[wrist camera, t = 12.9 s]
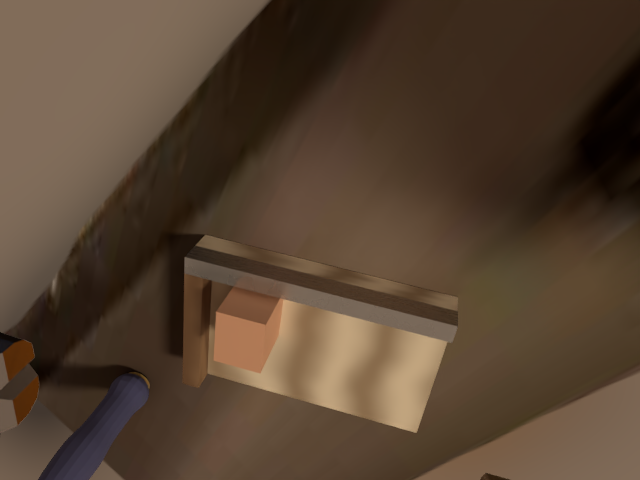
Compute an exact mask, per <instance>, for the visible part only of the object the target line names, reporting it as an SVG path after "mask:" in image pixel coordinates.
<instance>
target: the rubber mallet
mask: <svg viewBox="0 0 640 480" xmlns="http://www.w3.org/2000/svg"><path fill="white" fill-rule="evenodd" d="M149 388H150V384H149V382H148V380H147V378H146V377H144V376H143V375H142V374H140V373H137V372H129V373H127V374H123V375H120V376H119V377H118V378H116V379H115V380H114V381H113V383H112V384H111V386H110V388H109V390H108V393H107V394H106V396H105V398H104V399H103V400H102V402H101V403H100V404H99V405H98V407H97V408H96V409H95V410H94V412H93V413H92V414H91V415H90V417H89V418H88V419H87V420H86V421H85V422H84V424H83V425H82V426H81V427H80V428H79V429H77V430H76V431H75V432H74V433H73V434H72V435H71V436H70V437H69V438H68V439H67V440H66V441H65V443H64V444H63V445H62V446H61V447H60V449H59V450H58V451H57V453H56V454H55V455H54V457H53V458H52V459H51V461H50V462H49V464H48V465H47V467H46V468H45V470H44V471H43V472H42V474H41V476H40V477H39V479H38V480H89V479H90V477H91V476H92V475H93V473H94V472H95V471H96V469H97V468H98V467H99V465H100V464H101V462H102V461H103V459H104V457H105V455H106V453H107V451H108V450H109V448H110V446H111V444H112V443H113V441H114V439H115V438H116V437H117V435H118V434H119V433H120V431H121V430H122V428H123V427H124V426H125V424H126V423H127V422H128V420H129V419H130V417H131V416H132V415H133V414H134V413H135V412H136V411H137V410H139V409H140V408H141V407H142V406H143V405H144V404H145V403H146V401H147V399H148V396H149Z"/></svg>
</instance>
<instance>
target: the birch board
mask: <svg viewBox="0 0 640 480" xmlns="http://www.w3.org/2000/svg"><path fill="white" fill-rule="evenodd" d="M196 246H200V247H204V248H208V249H212V250H216V251H220V252H224V253H228V254H232V255H236V256H240V257H244V258H247V259H251V260H255V261H259V262H263V263H267V264H271V265H275V266H279V267H283V268H287V269H291V270H295V271H299V272H303V273H307V274H311V275H315V276H319V277H323V278H327V279H331V280H335V281H339V282H343V283H347V284H351V285H355V286H359V287H363V288H367V289H371V290H375V291H379V292H383V293H387V294H391V295H395V296H399V297H403V298H407V299H411V300H415V301H419V302H423V303H427V304H431V305H435V306H439V307H443V308H447V309H451V310H455V311H458V297H455V296H451V295H447V294H443V293H439V292H435V291H431V290H427V289H423V288H418V287H414V286H410V285H406V284H402V283H398V282H394V281H390V280H386V279H382V278H378V277H374V276H370V275H366V274H362V273H358V272H354V271H350V270H346V269H342V268H338V267H334V266H330V265H326V264H321V263H317V262H313V261H309V260H305V259H301V258H297V257H293V256H289V255H285V254H281V253H277V252H273V251H269V250H265V249H261V248H257V247H253V246H249V245H245V244H241V243H237V242H233V241H229V240H225V239H220V238H216V237H212V236H208V235H205V236H204V237H203V238H202V239H201V240H200V241H199V242H198V243H197V244H196ZM233 287H234V286H231V285H227V284H223V283H219V282H215V281H212V280H208V279H204V278H200V277H196V276H192V275H188V274H185V273H184V328H183V383H184V384H187V385H190V386H194V387H197V388H199V386H200V385H201V383H202V381H203V380H204V378H205V377H206V375H207V373H208V374H211V375H215V376H218V377H222V378H225V379H229V380H233V381H236V382H240V383H243V384H247V385H250V386H254V387H257V388H261V389H264V390H268V391H271V392H275V393H278V394H282V395H285V396H289V397H292V398H296V399H299V400H303V401H306V402H310V403H313V404H317V405H320V406H324V407H327V408H331V409H334V410H338V411H341V412H345V413H348V414H352V415H355V416H359V417H362V418H366V419H370V420H373V421H377V422H380V423H384V424H387V425H391V426H394V427H398V428H401V429H405V430H408V431H412V432H415V433H417V430H418V427H419V424H420V421H421V418H422V415H423V412H424V409H425V406H426V403H427V400H428V397H429V395H430V392H431V389H432V386H433V383H434V380H435V377H436V374H437V371H438V368H439V365H440V362H441V359H442V356H443V353H444V350H445V347H446V345H447V341H443V340H439V339H435V338H431V337H427V336H424V335H420V334H416V333H412V332H408V331H404V330H400V329H397V328H393V327H389V326H385V325H381V324H377V323H373V322H370V321H366V320H362V319H358V318H354V317H350V316H347V315H343V314H339V313H335V312H331V311H327V310H323V309H320V308H316V307H312V306H308V305H304V304H300V303H296V302H293V301H289V300H285V299H283V307H282V315H281V322H280V330H279V336H278V338H277V340H276V342H275V344H274V346H273V348H272V351H271V353H270V355H269V357H268V359H267V361H266V363H265V365H264V367H263V369H262V371H261V373H256V372H253V371H249V370H246V369H242V368H238V367H235V366H231V365H228V364H224V363H221V362H217V361H214V343H215V324H216V311H217V310H218V308H219V307H220V305H221V304H222V303H223V301H224V300H225V298H226V297H227V295H228V294H229V292H230V291H231V290H232V288H233Z"/></svg>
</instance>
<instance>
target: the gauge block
mask: <svg viewBox="0 0 640 480" xmlns="http://www.w3.org/2000/svg"><path fill="white" fill-rule="evenodd" d="M282 307H283V299H281V298H277V297H273V296H269V295H266V294H262V293H258V292H254V291H250V290H246V289H242V288H239V287H235V286H234V287H233V288H232V290H231V291H230V292H229V294H228V295H227V297H226V298H225V300H224V301H223V303H222V304H221V305H220V307H219V308H218V310H217V311H216V324H215V343H214V361H217V362H221V363H224V364H228V365H231V366H235V367H238V368H242V369H246V370H249V371H253V372H256V373H261V371H262V369H263V367H264V365H265V363H266V361H267V359H268V357H269V355H270V353H271V351H272V348H273V346H274V344H275V342H276V340H277V338H278V336H279V330H280V322H281V315H282Z"/></svg>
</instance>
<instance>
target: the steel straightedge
mask: <svg viewBox="0 0 640 480" xmlns="http://www.w3.org/2000/svg"><path fill="white" fill-rule="evenodd" d="M184 273H185V274H188V275H192V276H196V277H200V278H204V279H208V280H212V281H215V282H219V283H223V284H227V285H231V286H235V287H239V288H242V289H246V290H250V291H254V292H258V293H262V294H266V295H269V296H273V297H277V298H281V299H285V300H289V301H293V302H296V303H300V304H304V305H308V306H312V307H316V308H320V309H323V310H327V311H331V312H335V313H339V314H343V315H347V316H350V317H354V318H358V319H362V320H366V321H370V322H373V323H377V324H381V325H385V326H389V327H393V328H397V329H400V330H404V331H408V332H412V333H416V334H420V335H424V336H427V337H431V338H435V339H439V340H443V341H447V342H451V343H452V342H453V339H454V336H455V333H456V330H457V327H458V311H455V310H451V309H447V308H443V307H439V306H435V305H431V304H427V303H423V302H419V301H415V300H411V299H407V298H403V297H399V296H395V295H391V294H387V293H383V292H379V291H375V290H371V289H367V288H363V287H359V286H355V285H351V284H347V283H343V282H339V281H335V280H331V279H327V278H323V277H319V276H315V275H311V274H307V273H303V272H299V271H295V270H291V269H287V268H283V267H279V266H275V265H271V264H267V263H263V262H259V261H255V260H251V259H247V258H244V257H240V256H236V255H232V254H228V253H224V252H220V251H216V250H212V249H208V248H204V247H200V246H196V245H195V246H194V247H193V248H192V250H191V251H190V252H189V253H188V254H187V255H186V256H185V264H184Z"/></svg>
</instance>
